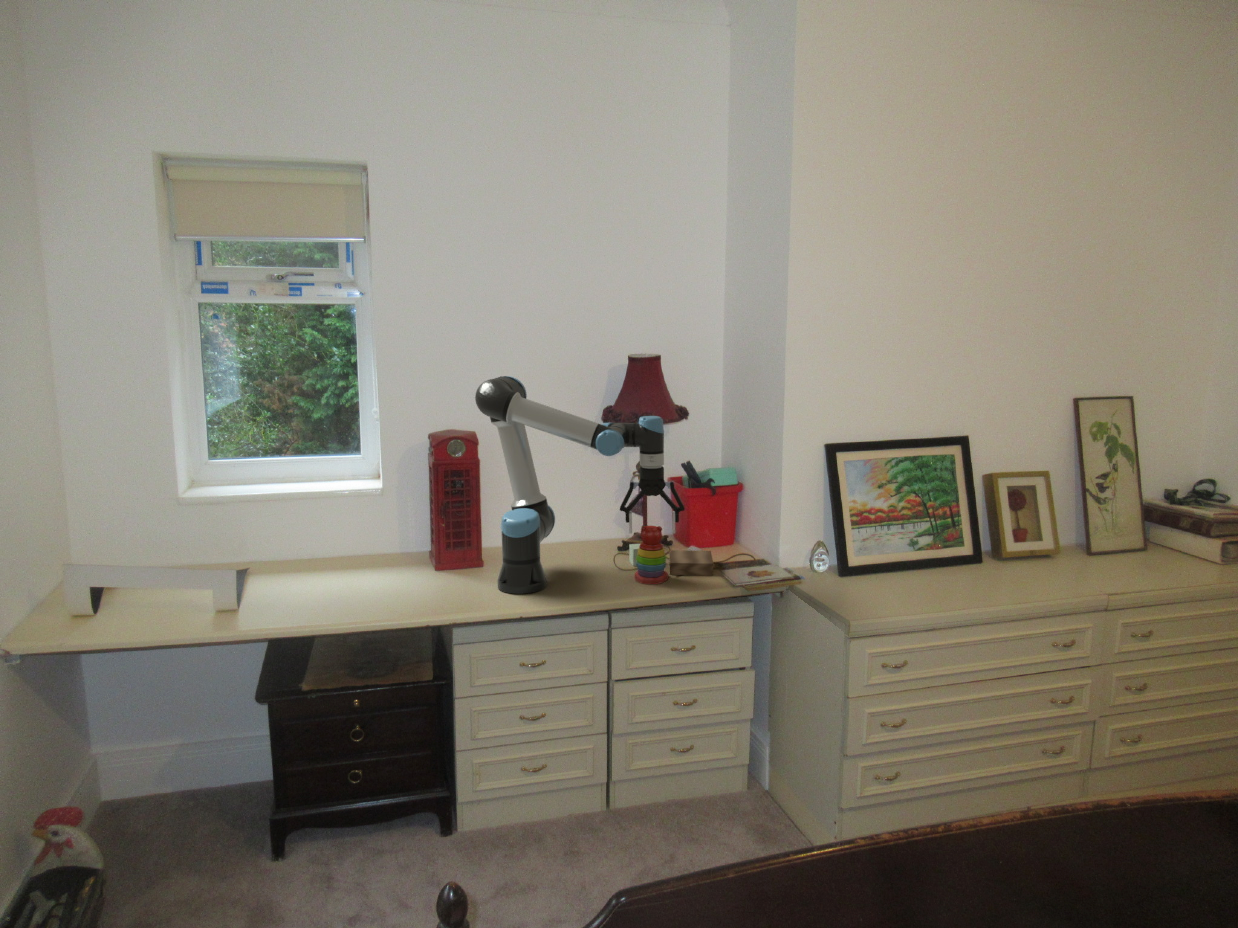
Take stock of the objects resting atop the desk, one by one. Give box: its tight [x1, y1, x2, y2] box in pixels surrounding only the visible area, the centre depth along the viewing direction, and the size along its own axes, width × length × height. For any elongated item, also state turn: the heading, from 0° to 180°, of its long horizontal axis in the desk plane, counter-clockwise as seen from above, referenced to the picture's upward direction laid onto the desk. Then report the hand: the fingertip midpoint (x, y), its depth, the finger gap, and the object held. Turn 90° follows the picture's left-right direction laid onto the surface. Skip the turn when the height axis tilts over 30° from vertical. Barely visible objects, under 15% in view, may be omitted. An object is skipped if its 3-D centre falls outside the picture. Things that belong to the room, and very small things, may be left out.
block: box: [628, 543, 641, 567], centre depth 273 cm, size 6×6×6 cm
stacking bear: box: [634, 525, 669, 585], centre depth 255 cm, size 11×10×18 cm
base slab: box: [668, 549, 714, 576], centre depth 267 cm, size 14×14×4 cm
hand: (652, 532), depth 253 cm, fingers open, 13 cm apart
